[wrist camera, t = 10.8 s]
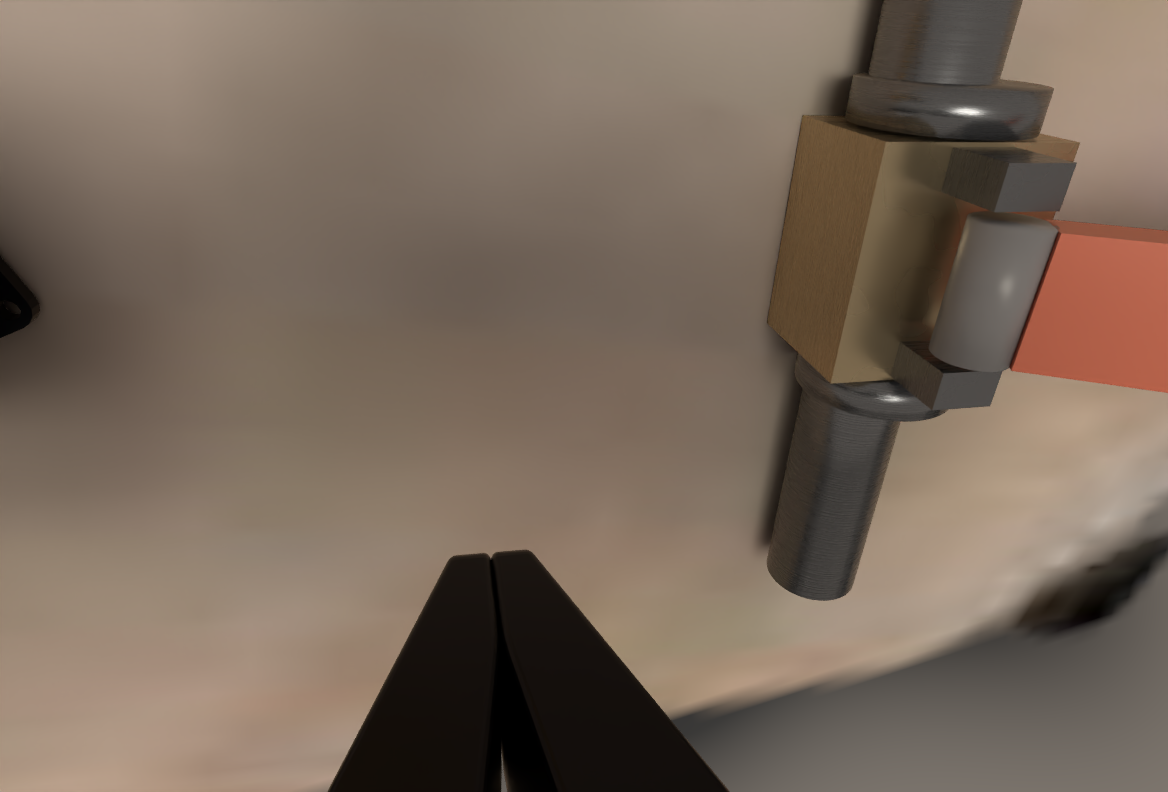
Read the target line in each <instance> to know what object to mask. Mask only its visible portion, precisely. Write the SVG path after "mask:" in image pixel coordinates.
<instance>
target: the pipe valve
mask: <svg viewBox="0 0 1168 792" xmlns="http://www.w3.org/2000/svg"><path fill="white" fill-rule="evenodd" d="M1022 1H1023V0H883V5H882V9H881V14H880V19H879V24H878V29H877V34H876V38H875V43H874V48H873V53H872V58H871V62H870V67H869V72H867V73H857V74H854V75H853V80H852V85H851V90H850V95H849V100H848V105H847V110H846V115H845V116H812V115H803V118H802V124H801V130H800V135H799V141H798V147H797V153H796V159H795V164H794V170H793V176H792V182H791V188H790V193H789V199H788V205H787V211H786V217H785V222H784V228H783V234H782V240H781V246H780V251H779V257H778V263H777V269H776V275H775V280H774V286H773V292H772V298H771V304H770V309H769V315H768V321H767V323H768V324H769V325H770V326H771V327H772V328H773V329H774V330H775V331H776V332H777V333H778V334H779V335H780V336H781V337H782V338H783V339H784V340H785V341H786V342H788V343H789V344H790V345H791V346H792V347H793V348H794V349H795V350H796V351H797V352H798V356H797V361H796V366H795V378H796V380H797V382H798V383H799V384H800V386H801V387H802V388H803V389H802V394H801V399H800V403H799V408H798V413H797V418H796V423H795V427H794V432H793V437H792V442H791V447H790V451H789V456H788V461H787V466H786V471H785V475H784V480H783V485H782V490H781V495H780V499H779V504H778V509H777V514H776V519H775V523H774V528H773V533H772V538H771V543H770V547H769V552H768V557H767V567H768V570H769V572H770V574H771V576H772V577H773V579H774V580H775V581H776V582H777V583H778V584H779V585H781V586H782V587H783V588H785V589H786V590H788V591H790V592H791V593H794V594H796V595H798V596H801V597H804V598H807V599H812V600H823V601H825V600H834V599H837V598H840V597H842V596H844V595H846V594H847V593H848V592H849V591H850V590H851V588H852V586H853V583H854V580H855V576H856V573H857V569H858V566H859V562H860V559H861V555H862V552H863V549H864V545H865V542H866V538H867V535H868V531H869V528H870V524H871V521H872V518H873V514H874V511H875V507H876V504H877V500H878V497H879V494H880V490H881V487H882V483H883V480H884V476H885V473H886V469H887V466H888V463H889V459H890V456H891V452H892V449H893V445H894V442H895V438H896V435H897V432H898V428H899V425H900V421H904V422H905V421H920V420H926V419H931V418H934V417H937V416H939V415H941V414H943V413H945V412H946V411H947V410H948V409H958V408H971V407H984V406H990V405H991V402H992V399H993V396H994V393H995V391H996V388H997V385H998V382H999V379H1000V377H1001V374H1002V371H998V372H981V371H974V370H968V369H964V368H960V367H957V366H954V365H951V364H948V363H946V362H944V361H942V360H940V359H938V358H937V357H935V356H934V355H933V354H932V353H931V352H930V351H929V348H928V347H929V343H930V340H931V337H932V333H933V330H934V326H935V323H936V320H937V316H938V313H939V310H940V306H941V303H942V299H943V296H944V293H945V289H946V286H947V282H948V279H949V276H950V272H951V269H952V266H953V262H954V259H955V255H956V252H957V249H958V245H959V242H960V238H961V235H962V232H963V228H964V225H965V221H966V218H967V215H968V214H969V213H972V212H979V211H992V212H1007V213H1015V214H1021V215H1027V216H1031V217H1036V218H1039V219H1043V220H1045V219H1050V220H1053V218H1054V215H1055V212H1056V211H1060V208H1061V205H1062V203H1063V200H1064V197H1065V194H1066V191H1067V189H1068V186H1069V183H1070V180H1071V177H1072V175H1073V172H1074V169H1075V166H1076V163H1075V162H1073V161H1074V158H1075V155H1076V153H1077V150H1078V147H1079V144H1080V143H1079V142H1075V141H1070V140H1066V139H1062V138H1057V137H1053V136H1048V135H1044V134H1040V131H1041V128H1042V125H1043V122H1044V118H1045V115H1046V112H1047V109H1048V106H1049V103H1050V100H1051V97H1052V94H1053V91H1054V88H1052V87H1049V86H1044V85H1039V84H1033V83H1027V82H1020V81H1011V80H1003V79H1000V77H1001V73H1002V70H1003V67H1004V63H1005V60H1006V56H1007V53H1008V49H1009V46H1010V42H1011V39H1012V36H1013V32H1014V29H1015V25H1016V22H1017V18H1018V15H1019V11H1020V8H1021V5H1022Z"/></svg>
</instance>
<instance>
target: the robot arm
mask: <svg viewBox="0 0 1168 792" xmlns="http://www.w3.org/2000/svg"><path fill="white" fill-rule="evenodd" d="M4 300H7V301H11V302H13V303H15V304H16V305H17V306H18V307H19V309H20V311H21V313H20V314H16V313H12V312H11V311H9V310H8V309H7V308H6V307H5V305H4ZM39 312H40V305H39V302H38V300H37V299H36V297H35V296H34V294H33V293H32V292H31V291H30V290H29V289H28V287H27V286H26V285H25V284H24V283H23V282H22V281H21V279H20V278H19V277H18V276H17V275H16V274H15V272H14V271H13V270H12V269H11V268H10V267H9V265H8V264H7V263H6V262H5V261H4V260H3V259H2V257H1V256H0V338H2V337H4V336H6V335H8V334H11V333H13V332H15V331H18V330H20V329H22V328H24V327H26V326H27V325H28V324H30V323H31V322H32V321H33V320H34V319H36V318H37V317H38V314H39ZM501 750H502V760H503V770H504V776H505V782H506V788H507V792H729V790H728V789H727V788H726V786H725V785H724V784H723V783H722V782H721V780H720V779H719V778H718V777H717V776H716V774H715V773H714V772H713V771H712V770H711V768H710V767H709V766H708V765H707V764H706V762H705V761H704V760H703V759H702V757H701V756H700V755H699V754H698V753H697V751H696V750H695V749H694V748H693V746H692V745H691V744H690V743H689V742H688V740H687V739H686V738H685V737H684V736H683V734H682V733H681V732H680V731H679V730H678V728H677V727H676V726H675V725H674V724H673V722H672V721H671V720H670V719H669V717H668V716H667V715H666V714H665V713H664V711H663V710H662V709H661V708H660V706H659V705H658V704H657V703H656V702H655V700H654V699H653V698H652V697H651V696H650V694H649V693H648V692H647V691H646V690H645V688H644V687H643V686H642V685H641V683H640V682H639V681H638V680H637V679H636V677H635V676H634V675H633V674H632V673H631V671H630V670H629V669H628V668H627V666H626V665H625V664H624V663H623V662H622V660H621V659H620V658H619V657H618V656H617V654H616V653H615V652H614V651H613V650H612V648H611V647H610V646H609V645H608V643H607V642H606V641H605V640H604V639H603V637H602V636H601V635H600V634H599V633H598V631H597V630H596V629H595V628H594V627H593V625H592V624H591V623H590V622H589V620H588V619H587V618H586V617H585V616H584V614H583V613H582V612H581V611H580V610H579V608H578V607H577V606H576V605H575V603H574V602H573V601H572V600H571V599H570V597H569V596H568V595H567V594H566V593H565V591H564V590H563V589H562V588H561V587H560V585H559V584H558V583H557V582H556V580H555V579H554V578H553V577H552V576H551V574H550V573H549V572H548V571H547V570H546V568H545V567H544V566H543V565H542V564H541V562H540V561H539V560H538V559H537V557H536V556H535V555H534V554H533V553H532V552H531V551H529V550H515V551H503V552H496V553H494V554H493V556H492V558H491V559H490V557H489V555H488V554H486V553H479V554H467V555H456V556H453V557H451V558H450V559H449V561H448V562H447V564H446V566H445V567H444V569H443V571H442V573H441V575H440V577H439V579H438V581H437V583H436V585H435V587H434V589H433V590H432V592H431V594H430V596H429V598H428V600H427V602H426V604H425V606H424V608H423V610H422V612H421V613H420V615H419V617H418V619H417V621H416V623H415V625H414V627H413V629H412V631H411V633H410V635H409V636H408V638H407V640H406V642H405V644H404V646H403V648H402V650H401V652H400V654H399V656H398V657H397V659H396V661H395V663H394V665H393V667H392V669H391V671H390V673H389V675H388V677H387V679H386V680H385V682H384V684H383V686H382V688H381V690H380V692H379V694H378V696H377V698H376V700H375V702H374V703H373V705H372V707H371V709H370V711H369V713H368V715H367V717H366V719H365V721H364V723H363V725H362V726H361V728H360V730H359V732H358V734H357V736H356V738H355V740H354V742H353V744H352V746H351V747H350V749H349V751H348V753H347V755H346V757H345V759H344V761H343V763H342V765H341V767H340V769H339V770H338V772H337V774H336V776H335V778H334V780H333V782H332V784H331V786H330V788H329V790H328V792H501V778H502V777H501V776H502V775H501V774H502V767H501V766H502V760H501Z"/></svg>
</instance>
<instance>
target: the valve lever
mask: <svg viewBox="0 0 1168 792" xmlns="http://www.w3.org/2000/svg"><path fill="white" fill-rule="evenodd" d="M928 348H929V351H930V352H931V353H932V354H933V355H934V356H935V357H937V358H938V359H940V360H942V361H944V362H946V363H948V364H951V365H954V366H957V367H960V368H964V369H968V370H974V371H981V372H998V371H1003V370H1006V369H1008V368H1009V367H1010V369H1011V371H1017V372H1024V373H1031V374H1038V375H1045V376H1052V377H1060V378H1067V379H1074V380H1081V381H1088V382H1095V383H1102V384H1109V385H1116V386H1123V387H1131V388H1138V389H1145V390H1152V391H1159V392H1166V393H1168V231H1163V230H1153V229H1143V228H1132V227H1122V226H1112V225H1102V224H1091V223H1081V222H1071V221H1060V220H1050V219H1045V220H1043V219H1039V218H1036V217H1031V216H1027V215H1021V214H1015V213H1007V212H992V211H979V212H972V213H969V214H968V215H967V218H966V221H965V225H964V228H963V232H962V235H961V238H960V242H959V245H958V249H957V252H956V255H955V259H954V262H953V266H952V269H951V272H950V276H949V279H948V282H947V286H946V289H945V293H944V296H943V299H942V303H941V306H940V310H939V313H938V316H937V320H936V323H935V326H934V330H933V333H932V337H931V340H930V343H929V347H928Z"/></svg>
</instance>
